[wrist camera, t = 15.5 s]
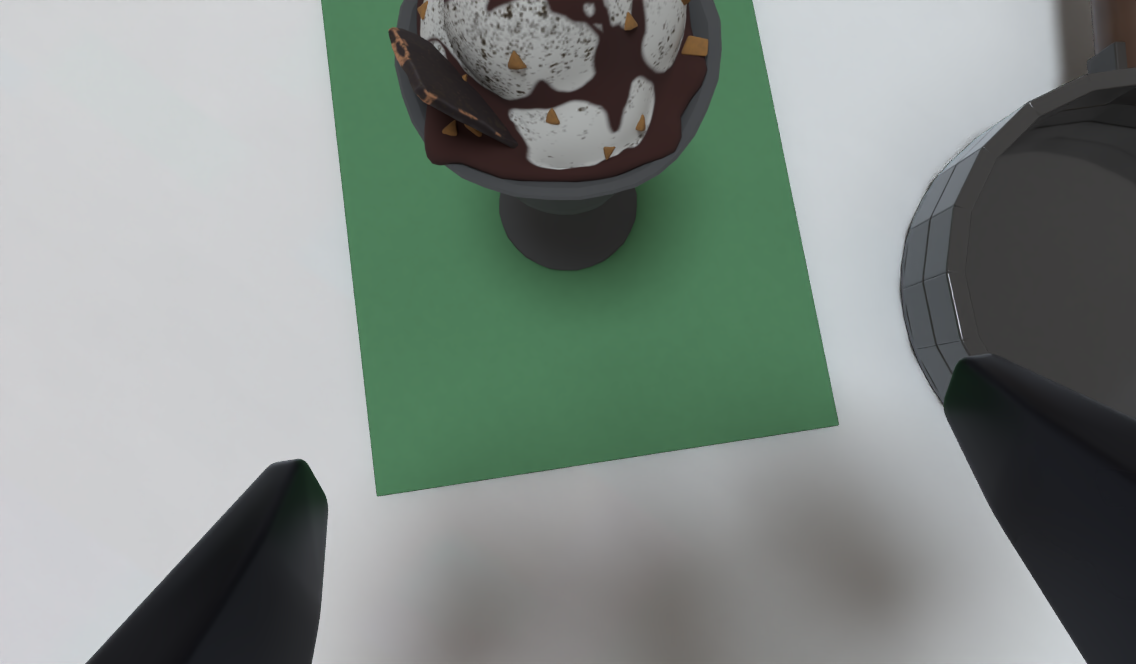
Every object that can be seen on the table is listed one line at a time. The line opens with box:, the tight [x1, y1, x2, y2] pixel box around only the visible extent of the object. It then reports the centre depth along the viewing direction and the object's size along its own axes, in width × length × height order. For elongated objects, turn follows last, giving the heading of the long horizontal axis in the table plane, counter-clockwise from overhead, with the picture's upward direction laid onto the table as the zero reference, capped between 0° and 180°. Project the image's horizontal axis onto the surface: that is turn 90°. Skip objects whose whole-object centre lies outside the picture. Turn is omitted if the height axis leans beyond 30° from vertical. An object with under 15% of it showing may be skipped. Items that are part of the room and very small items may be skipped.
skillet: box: [901, 67, 1136, 419], centre depth 21 cm, size 14×14×3 cm
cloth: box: [321, 0, 839, 496], centre depth 23 cm, size 19×16×1 cm
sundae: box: [388, 0, 722, 270], centre depth 16 cm, size 7×7×15 cm
